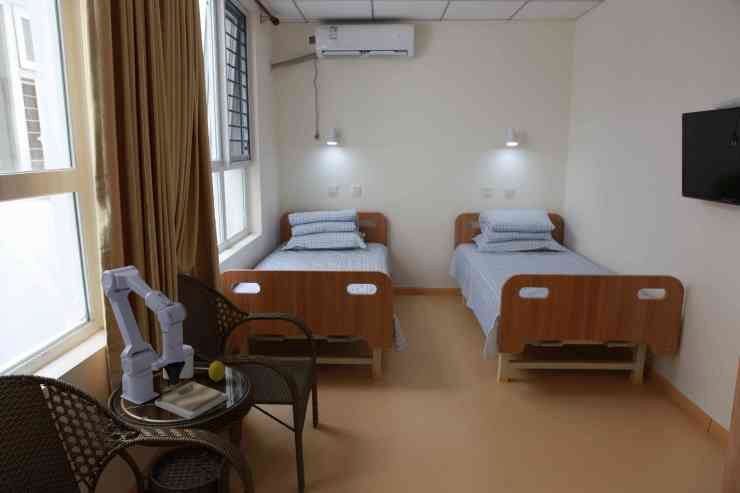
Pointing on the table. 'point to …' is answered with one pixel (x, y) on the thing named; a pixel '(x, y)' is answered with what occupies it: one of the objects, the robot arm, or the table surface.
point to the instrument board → (191, 395)
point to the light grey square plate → (186, 412)
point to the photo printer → (187, 369)
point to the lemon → (216, 371)
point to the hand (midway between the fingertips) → (174, 383)
